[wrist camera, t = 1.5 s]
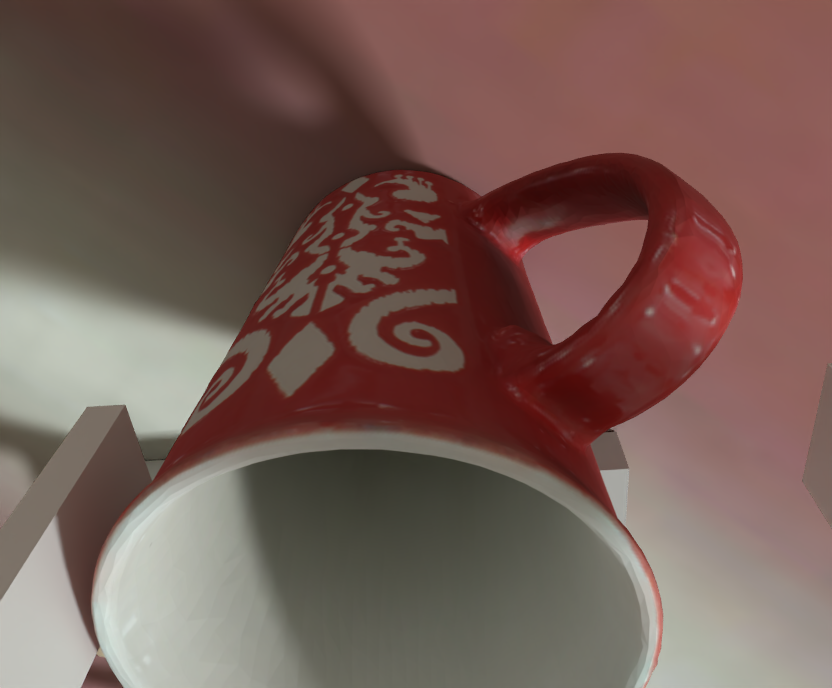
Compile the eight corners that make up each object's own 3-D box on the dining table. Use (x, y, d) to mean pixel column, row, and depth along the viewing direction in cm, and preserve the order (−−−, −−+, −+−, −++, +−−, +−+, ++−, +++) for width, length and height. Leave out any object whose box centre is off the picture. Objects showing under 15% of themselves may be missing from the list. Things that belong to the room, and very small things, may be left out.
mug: (411, 445, 27) (395, 861, 15) (202, 287, 24) (-18, 656, 12) (705, 200, 22) (1011, 532, 10) (490, -37, 19) (582, 56, 7)
